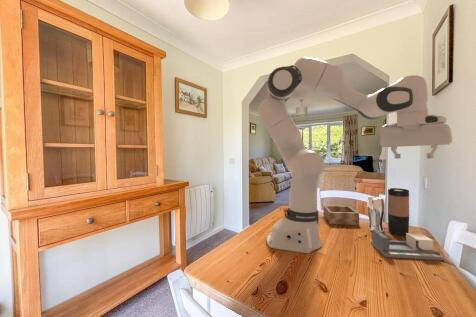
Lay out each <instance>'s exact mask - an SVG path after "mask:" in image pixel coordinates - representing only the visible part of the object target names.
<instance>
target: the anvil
mask: <svg viewBox="0 0 476 317" xmlns="http://www.w3.org/2000/svg"><path fill="white" fill-rule="evenodd" d="M372 240H374V244H375V245H376V246H378V247H379V248H380V249H381V250H382V248H383V252H389V240H390V237H388V236H387V235H386V234H385V233H383V232H380V231H379V230H373V231H372Z"/></svg>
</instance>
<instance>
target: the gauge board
mask: <svg viewBox="0 0 476 317" xmlns="http://www.w3.org/2000/svg"><path fill="white" fill-rule="evenodd" d="M370 244H371V245H372V246H373V247H374V248H375V249H376V250H378V252H379V253H381V254H382V256H384V257H385V258H396V259H397V258H398V259H400V258H401V259H413V260H431V261H444V260H445V259H444V257H445V256H443V255H441V254H440V251H439V249H438V250H434V249H433V250H423V251H420V250H418V249H413V248H411V247H410V246H408V245H407V244H406V240H390V239H389V252H383V248H382V250H381V249H380V248H379V247H378V246H376V245H375V244H374V240H373V239H372V240H370Z"/></svg>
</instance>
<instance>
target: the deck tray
mask: <svg viewBox="0 0 476 317" xmlns="http://www.w3.org/2000/svg"><path fill="white" fill-rule="evenodd" d="M322 207H323V210H322V211H323V213H322V214H323V215H324V217H323V218H325V219H326V221H327V220H328V221H327V222H328V223H329V224H330V225H350V226H351V225H354V226H359V225H360V213H359V212H358V211H356V210H355V209H354V208H352V207H351V206H350V205H322Z"/></svg>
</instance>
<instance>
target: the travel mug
mask: <svg viewBox="0 0 476 317" xmlns="http://www.w3.org/2000/svg"><path fill="white" fill-rule="evenodd" d="M387 224H388V228H387V229H388V233H389V234H391V235H395V236H399V237H406V233H410V232H409V227H410V190H409V189H406V188H396V187H395V188H394V187H392V188H388V189H387Z"/></svg>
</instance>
